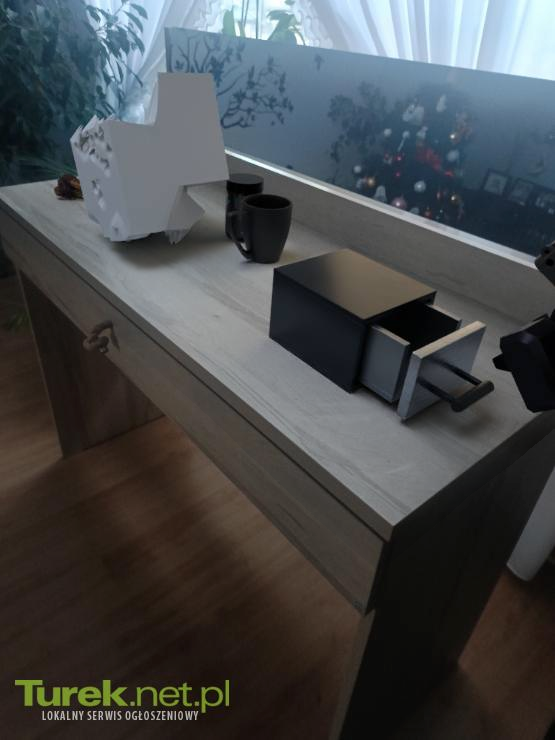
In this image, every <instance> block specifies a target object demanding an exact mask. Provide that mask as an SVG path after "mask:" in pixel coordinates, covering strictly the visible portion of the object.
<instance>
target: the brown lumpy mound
mask: <svg viewBox="0 0 555 740" xmlns="http://www.w3.org/2000/svg"><path fill="white" fill-rule="evenodd" d="M56 182H57V186H55V187H54V188H53V192H54V194H55V196H57V197H62V198H65V199H68V198H70V199H74V197H76V198H78V197H79V198H83V197H82V196H83V193H82V189H81V185H80V181H79V178H78V177H77V176H75V175H74V174H73V173H67V172H66V173H65V172H64V173H62V174H61V177H59V178H58V179H57V180H56Z"/></svg>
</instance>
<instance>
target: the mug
mask: <svg viewBox="0 0 555 740" xmlns="http://www.w3.org/2000/svg"><path fill="white" fill-rule="evenodd" d="M293 204H294V203H293V202H292V200H291V199H289V198H287V197H284V196H282V195H277V194H271V193H270V194H269V193H263V194H254V195H248V196H246V197H244V198H243V199H242V208H241V211H232V212H229V213H227V214H226V217H225V216H224V225H225V224H226V227H227V230H228V232H229V234H230V236H231V238H232V239H233V240H232V239H231V240H232V241H233V243H234V245H235V247H236V249H237V250H238V251H239V253H240V254H241V255H242V257H243V258H244V259H246V260H250V261H252V262H255V263H258V264H273V263H277V262H278V261H280V259H281V258H282V257H281V256H282V254H283V250H284V249H285V246H286V244H287V240H288V237H289V234H290V229H291V224H292V218H293V217H292V215H293V206H294V205H293ZM240 214H241V222H242V231H243V237H244V242H243V243H244V246H245V248H244V247H243V246H242V244H241V242H239V241H238V239H237V237H236V235H235V233H234V230H233V227H232V219H233V217H234V216H235V215H240Z"/></svg>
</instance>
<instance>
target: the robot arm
mask: <svg viewBox="0 0 555 740" xmlns="http://www.w3.org/2000/svg"><path fill="white" fill-rule="evenodd" d="M533 263H534V266H535V268H536V269H537V270H538V272H540V274H542V275H543V276H544V278H545V279H547V280H548V281H549V283H551V284H552V285H553V287H555V240H553V242H552V243H550V244H547V245H545V246H543V247H542V248H541V249H540V254H539V255H538V256H537V257H536V258H535V259H534V260H533ZM498 346H499V350H500V351H501V353H500V354H498V355H496V356H494V357H493V358H492V359H491V361H492V363H493V366H494V368H495V369H496V370H498V371H502V372H503V371H504V372H507V373H510V374H511V376H512V378H513V381H514V382H515V385H516V388H517V390H518V392H519V394H520V396H521V399H522V401H523V403H524V406H525V408H526V410H528V411H529V412H531V413H533V414H537V413H543V412H548V411H549V412H550V411H554V410H555V308H553V310H552V312H551V314H550V316H549V314H548V312H546V313H544V314H542V315H540V316H538V317H536V318H534V319H533V320H531V322H529V323H526V324H524V325H521V326H520V327H517V328H515V329H513V330H512V331H510V332H508V333H506V334H504V335H503V336H501V337H500V338H499V345H498Z"/></svg>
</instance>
